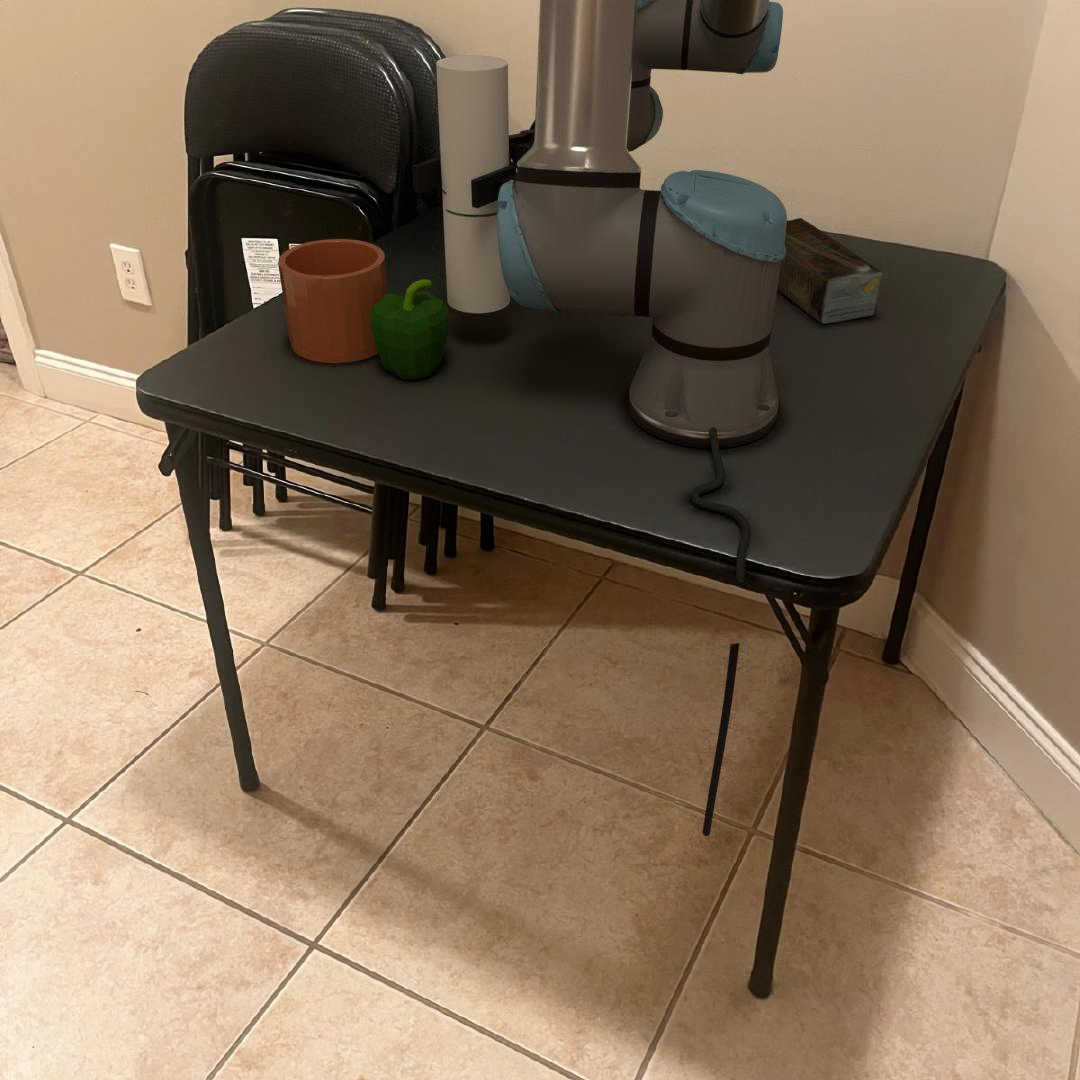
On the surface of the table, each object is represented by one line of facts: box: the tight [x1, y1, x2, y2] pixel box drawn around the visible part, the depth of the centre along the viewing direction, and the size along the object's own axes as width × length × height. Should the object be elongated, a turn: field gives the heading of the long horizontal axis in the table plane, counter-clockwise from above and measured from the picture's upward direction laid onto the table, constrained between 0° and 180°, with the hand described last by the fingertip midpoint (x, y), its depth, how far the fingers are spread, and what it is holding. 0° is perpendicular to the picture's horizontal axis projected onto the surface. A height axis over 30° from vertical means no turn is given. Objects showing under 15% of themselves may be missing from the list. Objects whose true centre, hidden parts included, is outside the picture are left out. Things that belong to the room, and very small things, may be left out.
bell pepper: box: [370, 278, 449, 380], centre depth 110 cm, size 8×8×10 cm
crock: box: [277, 238, 389, 364], centre depth 116 cm, size 12×12×10 cm
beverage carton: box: [777, 217, 883, 325], centre depth 129 cm, size 8×19×7 cm, turn 19°
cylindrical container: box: [435, 54, 511, 314], centre depth 109 cm, size 7×7×25 cm
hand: (444, 186), depth 105 cm, fingers closed on cylindrical container, 7 cm apart
